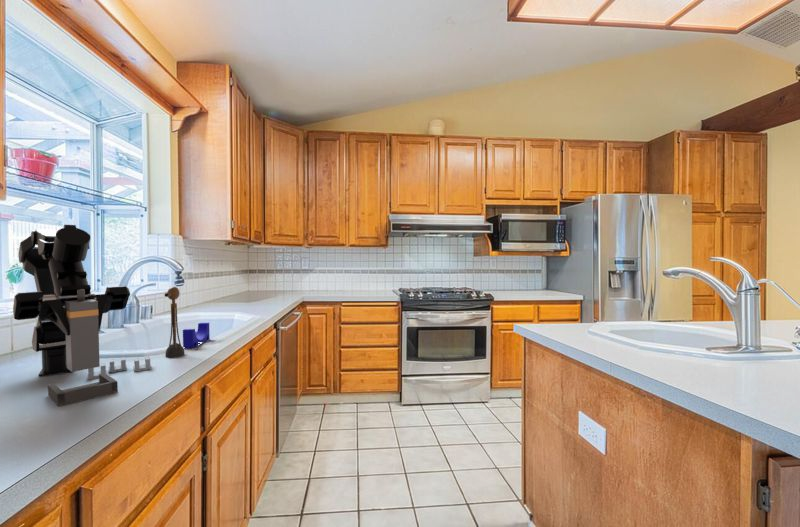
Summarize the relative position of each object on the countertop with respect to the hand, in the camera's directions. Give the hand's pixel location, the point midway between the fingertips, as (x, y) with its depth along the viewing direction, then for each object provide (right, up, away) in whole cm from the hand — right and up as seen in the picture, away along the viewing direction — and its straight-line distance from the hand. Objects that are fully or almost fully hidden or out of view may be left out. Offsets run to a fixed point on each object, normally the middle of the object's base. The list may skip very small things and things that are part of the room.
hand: (83, 332), depth 78 cm
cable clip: (-1, -12, +45) cm, 46 cm away
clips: (-5, -13, +16) cm, 21 cm away
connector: (-1, -8, +1) cm, 8 cm away
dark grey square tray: (-1, -13, +1) cm, 13 cm away
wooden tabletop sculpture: (+1, -13, +30) cm, 33 cm away
